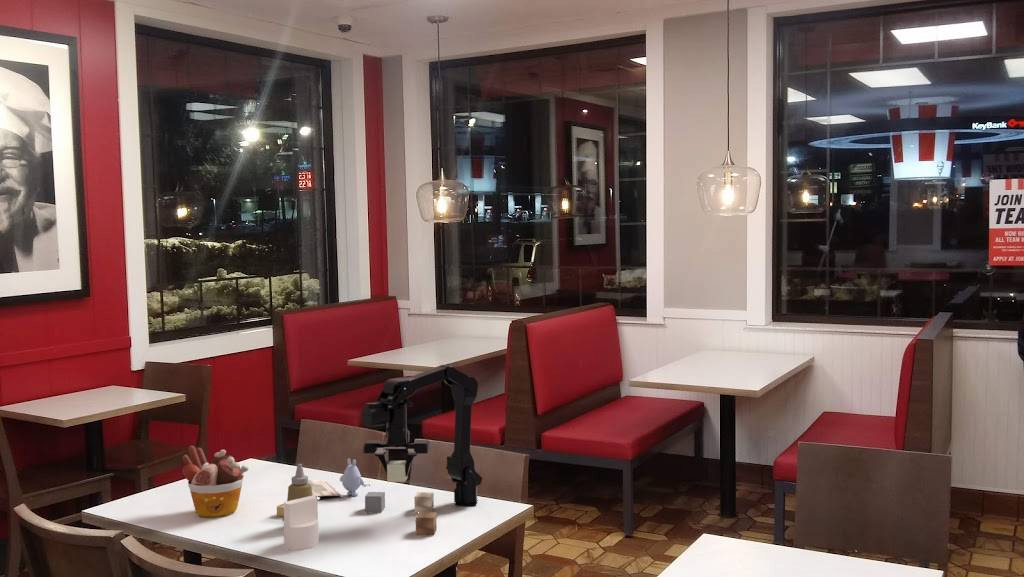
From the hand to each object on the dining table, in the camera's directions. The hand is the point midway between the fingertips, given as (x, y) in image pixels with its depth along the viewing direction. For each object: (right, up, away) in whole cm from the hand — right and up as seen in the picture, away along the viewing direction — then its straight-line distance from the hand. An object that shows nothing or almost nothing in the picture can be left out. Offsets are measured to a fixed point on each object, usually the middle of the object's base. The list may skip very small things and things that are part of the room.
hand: (397, 476), depth 260 cm
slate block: (-8, -13, +11) cm, 19 cm away
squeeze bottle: (-27, -14, -5) cm, 31 cm away
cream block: (+7, -13, +10) cm, 18 cm away
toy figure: (-18, -12, +28) cm, 35 cm away
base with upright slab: (-23, -14, -20) cm, 34 cm away
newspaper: (-31, -13, +32) cm, 46 cm away
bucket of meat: (-56, -13, +10) cm, 59 cm away
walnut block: (+9, -14, -11) cm, 20 cm away
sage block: (0, -1, 0) cm, 1 cm away
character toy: (-32, -14, +5) cm, 36 cm away
